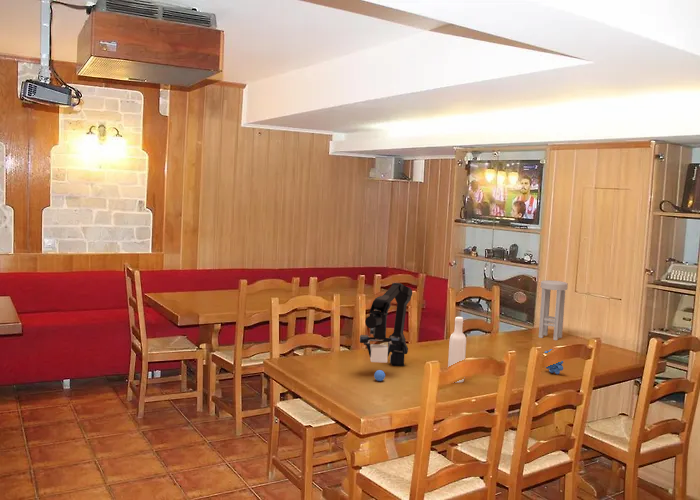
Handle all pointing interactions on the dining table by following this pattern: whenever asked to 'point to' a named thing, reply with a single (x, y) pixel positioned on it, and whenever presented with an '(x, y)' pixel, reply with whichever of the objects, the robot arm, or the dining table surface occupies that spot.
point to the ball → (379, 375)
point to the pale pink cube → (379, 353)
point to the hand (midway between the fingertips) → (378, 357)
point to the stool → (559, 311)
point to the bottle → (457, 344)
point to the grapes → (555, 366)
